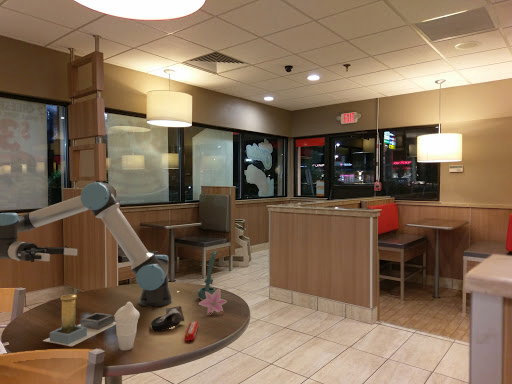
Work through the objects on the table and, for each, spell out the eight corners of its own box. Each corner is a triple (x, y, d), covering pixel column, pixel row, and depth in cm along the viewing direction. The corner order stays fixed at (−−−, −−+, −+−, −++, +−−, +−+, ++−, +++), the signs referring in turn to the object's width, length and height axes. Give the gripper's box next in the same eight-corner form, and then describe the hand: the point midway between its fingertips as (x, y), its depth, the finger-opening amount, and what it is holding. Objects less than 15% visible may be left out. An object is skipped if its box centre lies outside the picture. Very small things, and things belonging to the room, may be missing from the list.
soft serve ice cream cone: (107, 350, 123) (108, 303, 123) (124, 341, 131) (125, 296, 131) (127, 355, 120) (128, 306, 120) (144, 345, 128) (144, 299, 128)
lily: (194, 316, 161) (198, 300, 157) (203, 299, 171) (207, 283, 167) (219, 326, 160) (224, 310, 156) (227, 308, 170) (231, 292, 166)
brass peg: (77, 334, 133) (78, 293, 134) (74, 339, 128) (74, 297, 128) (62, 335, 132) (62, 294, 132) (58, 341, 127) (58, 298, 127)
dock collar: (68, 332, 135) (68, 324, 135) (86, 335, 133) (87, 327, 133) (49, 340, 127) (49, 332, 127) (68, 344, 125) (68, 335, 125)
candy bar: (189, 326, 146) (189, 319, 146) (198, 326, 146) (198, 319, 146) (183, 343, 130) (183, 335, 130) (193, 343, 130) (193, 335, 130)
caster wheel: (150, 338, 140) (158, 325, 150) (179, 333, 139) (185, 320, 149) (146, 322, 139) (154, 310, 149) (174, 317, 138) (181, 305, 148)
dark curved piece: (207, 308, 174) (226, 259, 175) (188, 299, 176) (207, 250, 177) (215, 302, 188) (232, 257, 189) (197, 294, 190) (215, 249, 191)
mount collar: (96, 319, 149) (96, 312, 149) (113, 322, 146) (113, 315, 146) (80, 326, 141) (80, 319, 141) (98, 329, 138) (98, 322, 138)
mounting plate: (93, 320, 150) (93, 318, 150) (119, 325, 146) (119, 322, 146) (42, 343, 127) (42, 340, 127) (71, 349, 123) (71, 346, 123)
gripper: (49, 255, 164) (86, 258, 157) (-7, 265, 140) (35, 270, 133) (49, 238, 164) (87, 241, 157) (-6, 246, 140) (35, 250, 133)
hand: (63, 254), depth 145 cm, fingers open, 13 cm apart
